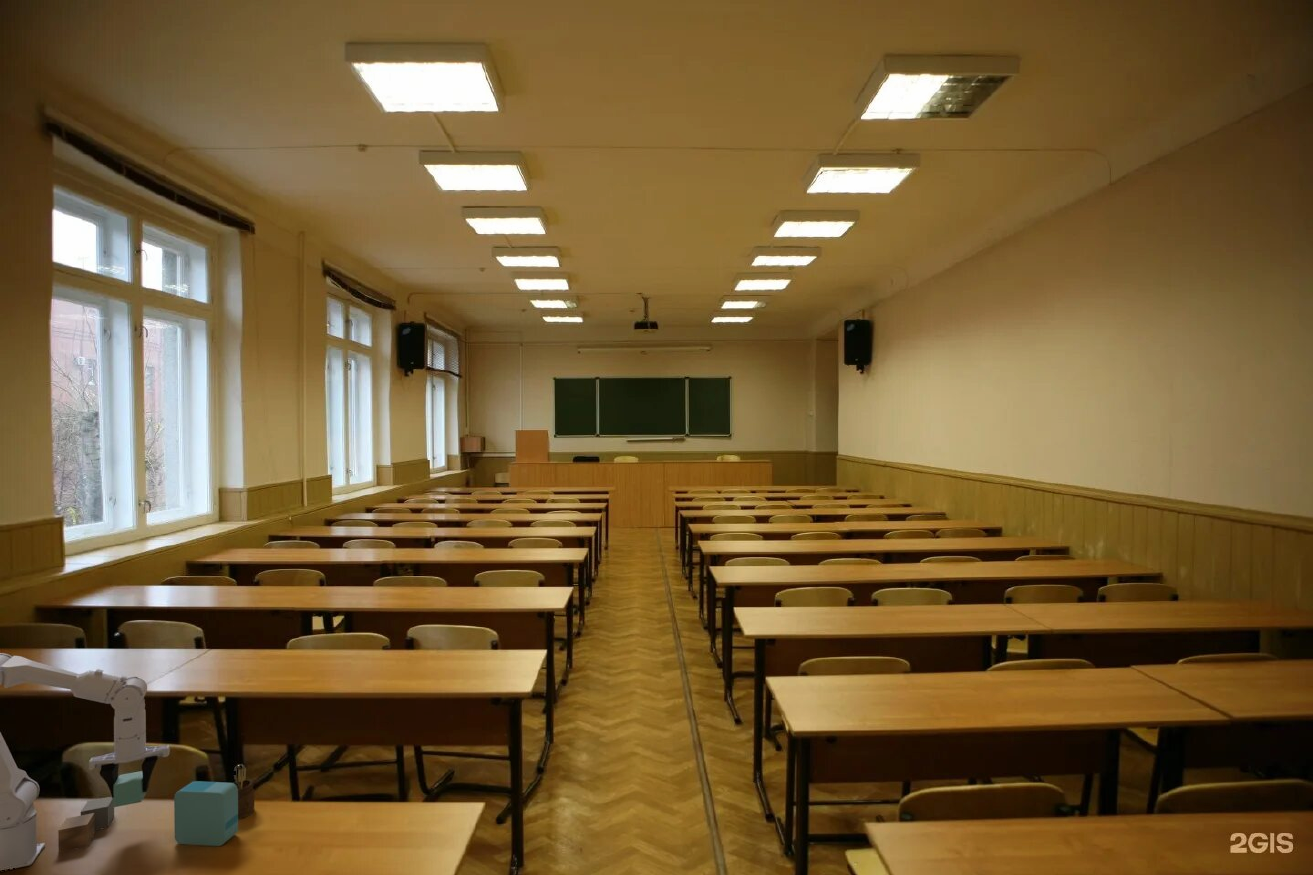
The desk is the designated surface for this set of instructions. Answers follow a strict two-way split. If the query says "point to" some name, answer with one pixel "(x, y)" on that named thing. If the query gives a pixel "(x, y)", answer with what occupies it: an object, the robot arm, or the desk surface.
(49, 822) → the desk surface
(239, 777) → the utensil holder
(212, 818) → the data package
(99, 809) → the charcoal block
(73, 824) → the walnut block
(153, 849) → the desk surface
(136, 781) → the teal block
